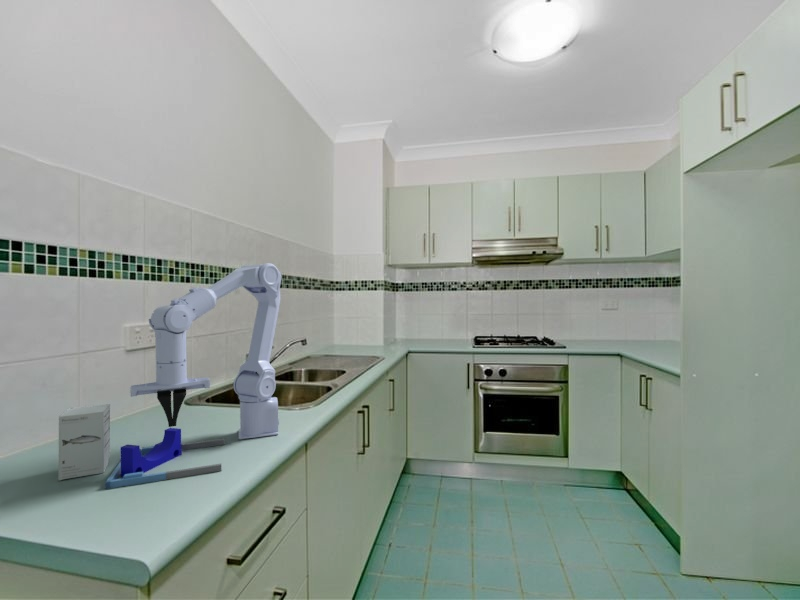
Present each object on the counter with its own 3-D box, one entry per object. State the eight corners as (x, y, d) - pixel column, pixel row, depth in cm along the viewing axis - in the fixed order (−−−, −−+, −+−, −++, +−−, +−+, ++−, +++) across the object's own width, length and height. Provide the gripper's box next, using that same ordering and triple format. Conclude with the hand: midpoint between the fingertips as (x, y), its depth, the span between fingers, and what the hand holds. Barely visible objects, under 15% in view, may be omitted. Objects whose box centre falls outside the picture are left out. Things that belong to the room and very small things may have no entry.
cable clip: (165, 453, 90) (164, 427, 90) (181, 455, 89) (181, 428, 89) (115, 476, 79) (114, 446, 79) (132, 479, 78) (132, 448, 77)
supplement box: (57, 482, 76) (56, 416, 76) (68, 467, 83) (67, 407, 83) (104, 473, 80) (103, 411, 80) (111, 460, 86) (110, 402, 86)
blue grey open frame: (224, 443, 96) (224, 436, 96) (221, 470, 80) (221, 462, 80) (128, 456, 88) (128, 448, 88) (105, 489, 73) (104, 480, 73)
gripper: (207, 356, 91) (208, 415, 91) (132, 362, 84) (133, 425, 84) (210, 360, 85) (211, 423, 85) (128, 367, 78) (130, 435, 78)
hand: (172, 425), depth 84 cm, fingers closed
